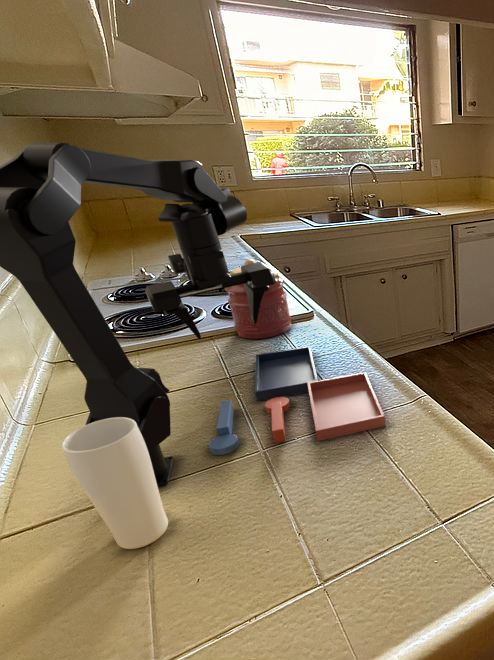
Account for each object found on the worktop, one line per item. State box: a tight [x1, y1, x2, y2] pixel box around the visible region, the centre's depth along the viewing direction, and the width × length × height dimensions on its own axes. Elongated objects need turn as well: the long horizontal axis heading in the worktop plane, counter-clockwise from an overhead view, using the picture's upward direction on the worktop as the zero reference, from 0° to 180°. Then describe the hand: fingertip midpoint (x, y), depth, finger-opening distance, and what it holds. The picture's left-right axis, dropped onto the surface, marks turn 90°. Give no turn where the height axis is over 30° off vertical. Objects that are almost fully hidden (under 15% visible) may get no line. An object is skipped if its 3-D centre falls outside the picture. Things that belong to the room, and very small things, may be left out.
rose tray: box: [307, 371, 387, 442], centre depth 82 cm, size 17×11×2 cm, turn 23°
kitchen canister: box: [224, 258, 292, 340], centre depth 111 cm, size 13×13×18 cm
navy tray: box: [254, 346, 319, 402], centre depth 93 cm, size 17×11×2 cm, turn 23°
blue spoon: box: [208, 399, 240, 456], centre depth 75 cm, size 13×4×2 cm, turn 23°
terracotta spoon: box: [264, 396, 291, 444], centre depth 78 cm, size 13×4×2 cm, turn 23°
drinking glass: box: [60, 417, 169, 550], centre depth 53 cm, size 7×7×15 cm
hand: (228, 330), depth 82 cm, fingers open, 9 cm apart
